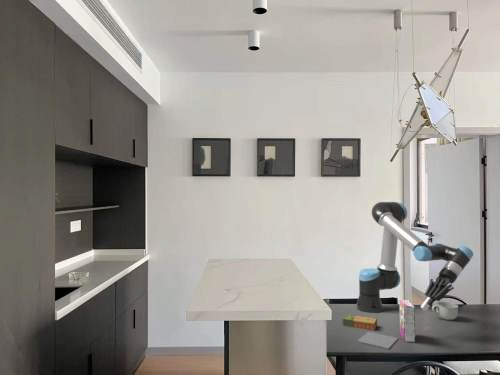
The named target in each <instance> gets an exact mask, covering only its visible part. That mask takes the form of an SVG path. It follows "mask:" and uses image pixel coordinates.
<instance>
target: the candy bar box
mask: <svg viewBox="0 0 500 375" xmlns="http://www.w3.org/2000/svg"><path fill="white" fill-rule="evenodd" d="M398 304H399V334H400V336H401V337H402V339H403V341H404V342H406V343H416V315H415V311H416V310H415V308H416V307H415V306H414V305H413V303H412V301H410V300H408V299H407V300H406V299H400V300H399V303H398Z"/></svg>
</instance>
